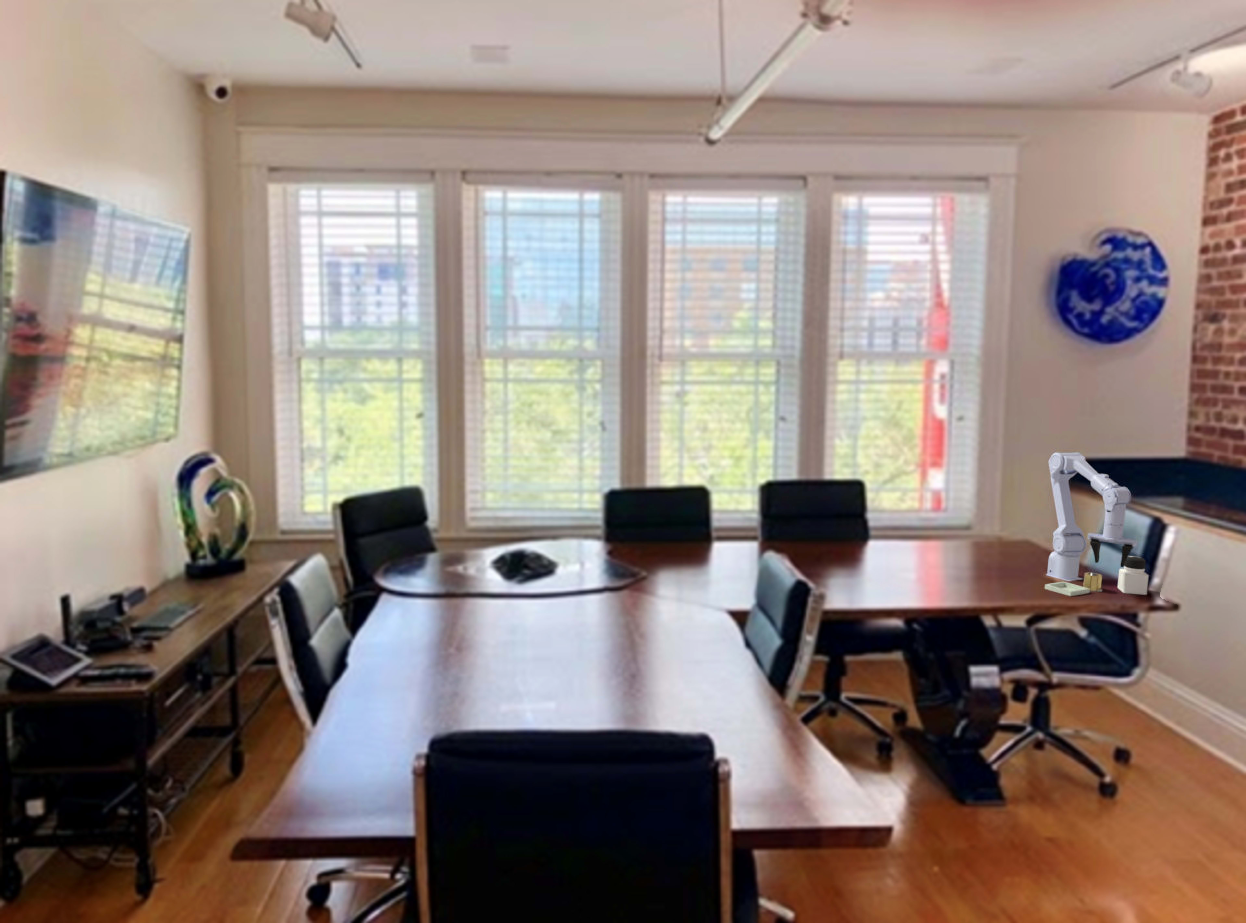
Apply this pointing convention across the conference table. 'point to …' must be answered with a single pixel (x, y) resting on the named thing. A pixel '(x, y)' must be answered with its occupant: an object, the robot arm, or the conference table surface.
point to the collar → (1092, 581)
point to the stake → (1095, 575)
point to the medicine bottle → (1133, 576)
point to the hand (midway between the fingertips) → (1109, 564)
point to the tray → (1067, 588)
